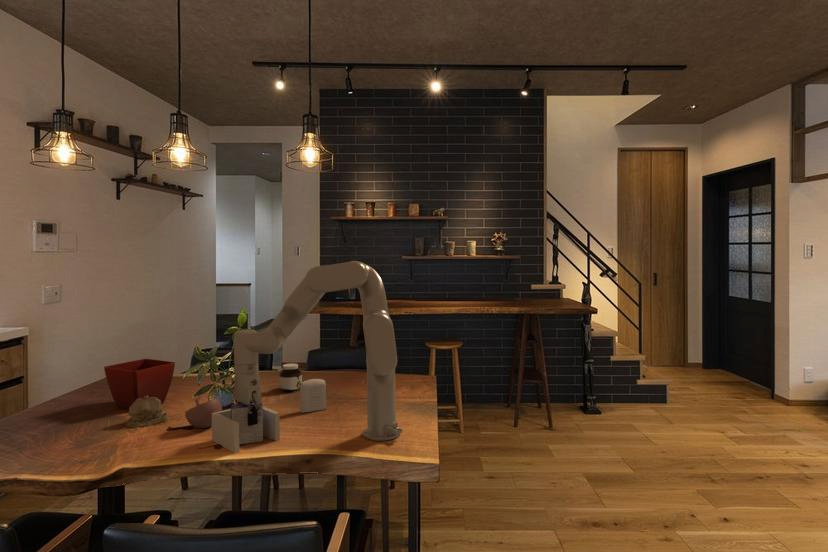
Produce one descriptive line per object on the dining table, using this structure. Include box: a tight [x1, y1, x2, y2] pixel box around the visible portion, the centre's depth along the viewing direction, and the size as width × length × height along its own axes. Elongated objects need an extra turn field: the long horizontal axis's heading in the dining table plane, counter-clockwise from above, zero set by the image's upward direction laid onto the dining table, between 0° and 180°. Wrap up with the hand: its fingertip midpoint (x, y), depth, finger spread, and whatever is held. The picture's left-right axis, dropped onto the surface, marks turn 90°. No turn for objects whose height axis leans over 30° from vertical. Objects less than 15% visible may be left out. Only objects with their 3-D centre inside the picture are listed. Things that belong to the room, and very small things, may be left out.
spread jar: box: [278, 363, 303, 393], centre depth 228 cm, size 12×11×12 cm
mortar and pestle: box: [184, 394, 223, 429], centre depth 177 cm, size 12×12×11 cm
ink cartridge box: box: [230, 401, 264, 445], centre depth 163 cm, size 10×6×14 cm, turn 114°
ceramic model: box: [125, 395, 169, 428], centre depth 183 cm, size 14×11×10 cm
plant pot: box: [103, 358, 176, 409], centre depth 205 cm, size 19×19×17 cm
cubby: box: [211, 406, 281, 454], centre depth 164 cm, size 16×16×9 cm
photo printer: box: [299, 378, 327, 414], centre depth 196 cm, size 10×4×12 cm, turn 123°
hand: (246, 421), depth 163 cm, fingers closed on ink cartridge box, 7 cm apart
